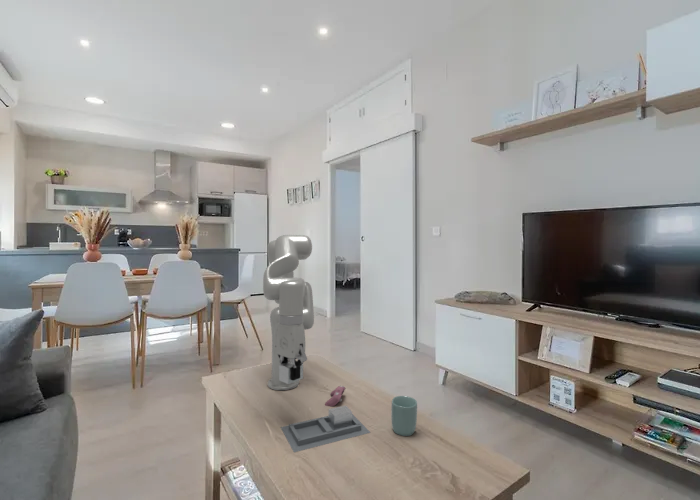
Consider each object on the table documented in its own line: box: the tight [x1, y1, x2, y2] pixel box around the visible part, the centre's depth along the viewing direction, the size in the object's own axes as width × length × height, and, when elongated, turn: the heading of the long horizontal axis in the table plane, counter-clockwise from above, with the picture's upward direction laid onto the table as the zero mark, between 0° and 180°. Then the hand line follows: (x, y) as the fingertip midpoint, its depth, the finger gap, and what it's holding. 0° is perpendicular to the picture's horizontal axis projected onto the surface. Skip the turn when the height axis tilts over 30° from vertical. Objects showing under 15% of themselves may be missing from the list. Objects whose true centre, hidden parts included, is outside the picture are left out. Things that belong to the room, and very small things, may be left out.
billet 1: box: [279, 360, 304, 384], centre depth 111 cm, size 4×6×5 cm
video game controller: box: [324, 385, 346, 407], centre depth 127 cm, size 10×5×7 cm, turn 169°
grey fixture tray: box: [280, 413, 371, 453], centre depth 107 cm, size 14×24×2 cm, turn 116°
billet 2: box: [328, 405, 353, 430], centre depth 109 cm, size 4×6×5 cm
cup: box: [390, 395, 418, 437], centre depth 108 cm, size 8×8×10 cm
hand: (290, 376), depth 111 cm, fingers closed on billet 1, 4 cm apart
